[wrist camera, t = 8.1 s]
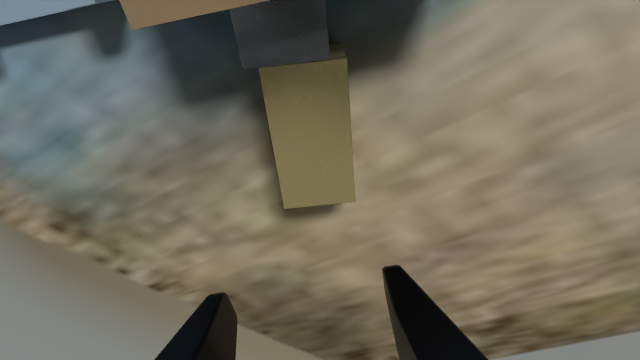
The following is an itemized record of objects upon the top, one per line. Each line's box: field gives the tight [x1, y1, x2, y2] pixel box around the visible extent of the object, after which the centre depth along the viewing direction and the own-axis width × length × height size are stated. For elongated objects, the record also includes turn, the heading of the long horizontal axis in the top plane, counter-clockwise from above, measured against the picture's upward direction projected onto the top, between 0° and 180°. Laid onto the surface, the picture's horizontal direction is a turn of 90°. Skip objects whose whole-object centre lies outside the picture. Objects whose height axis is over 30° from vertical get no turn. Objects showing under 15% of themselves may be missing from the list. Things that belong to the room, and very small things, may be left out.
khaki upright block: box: [258, 43, 356, 209], centre depth 18 cm, size 7×4×4 cm, turn 6°
